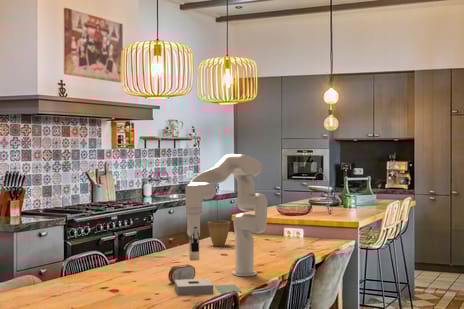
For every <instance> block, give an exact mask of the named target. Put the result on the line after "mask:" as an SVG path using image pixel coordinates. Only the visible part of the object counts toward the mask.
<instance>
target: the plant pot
mask: <svg viewBox="0 0 464 309" xmlns="http://www.w3.org/2000/svg"><path fill="white" fill-rule="evenodd" d="M207 224H208V232H209V236H210V240H211V243H212V246H214V247H224V246H225V244H226V242H227V239H228V235H229V231H230V225H231V221H228V220H210V221H207Z"/></svg>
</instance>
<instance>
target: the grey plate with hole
mask: <svg viewBox="0 0 464 309" xmlns="http://www.w3.org/2000/svg"><path fill="white" fill-rule="evenodd" d="M174 289H175V291H176V293H177V295H196V294H198V295H199V294H202V295H203V294H214V284H213V283H212V282H211V280H210V279H209V278H194V279H184V280H175V283H174Z"/></svg>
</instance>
